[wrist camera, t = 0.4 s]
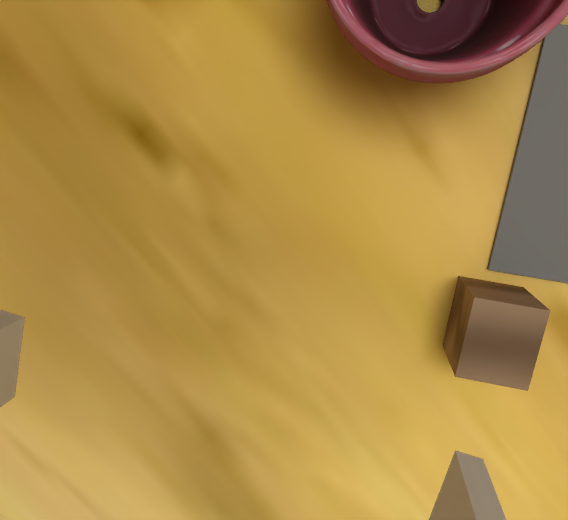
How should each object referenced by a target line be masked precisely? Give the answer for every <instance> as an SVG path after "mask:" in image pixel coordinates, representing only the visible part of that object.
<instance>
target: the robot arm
mask: <svg viewBox="0 0 568 520" xmlns="http://www.w3.org/2000/svg"><path fill="white" fill-rule="evenodd" d="M24 319H25V317H22V316H19V315H16V314H12V313H9V312H6V311H3V310H1V311H0V407H1V406H3V405H4V404H5V403H7V402H8V401H10V400H11V399H13V398H14V397H15V391H16V383H17V375H18V367H19V359H20V351H21V343H22V335H23V327H24ZM429 520H506V518H505V515H504V513H503V510H502V508H501V505H500V502H499V500H498V497H497V494H496V492H495V489H494V487H493V484H492V481H491V479H490V476H489V474H488V471H487V468H486V466H485V463H484V461H483V459H481V458H478V457H475V456H472V455H468V454H465V453H462V452H459V451H455V453H454V455H453V458H452V461H451V463H450V466H449V468H448V471H447V474H446V476H445V479H444V482H443V484H442V487H441V489H440V492H439V495H438V497H437V500H436V502H435V505H434V508H433V510H432V513H431V516H430V518H429Z"/></svg>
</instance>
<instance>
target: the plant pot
mask: <svg viewBox="0 0 568 520" xmlns="http://www.w3.org/2000/svg"><path fill="white" fill-rule="evenodd" d="M327 3H328V6H329V8H330V11H331V13H332V15H333V17H334V19H335V21H336V23H337V25H338V27H339V28H340V30H341V31H342V33H343V34H344V36H345V37H346V39H347V40H348V41H349V42H350V44H351V45H352V46H353V47H354V48H355V49H356V50H357V51H358V52H359V53H360V54H361V55H362V56H364V57H365V58H366V59H367V60H369V61H370V62H371V63H373V64H374V65H376V66H377V67H379V68H381V69H383V70H384V71H386V72H389V73H391V74H393V75H396V76H398V77H401V78H404V79H408V80H413V81H418V82H425V83H452V82H459V81H464V80H468V79H473V78H476V77H479V76H482V75H485V74H488V73H490V72H492V71H494V70H497V69H499V68H501V67H503V66H504V65H506V64H508V63H510V62H512V61H513V60H515V59H516V58H518V57H519V56H521V55H523V54H524V53H525V52H527V51H528V50H530V49H531V48H532V47H534V46H535V45H536V44H537V43H539V42H540V41H541V40H542V39H543V38H545V37H546V36H547V35H548V34H549V33H550V32H551V31H552V30H554V29H555V28H556V27H557V26H558V25H559V24H560V23H561V22H562V21H563V20H564V18H565V17H566V16H567V15H568V0H443V2H442V5H441V7H440V8H439V9H438V10H437V11H435V12H432V13H427V12H424V11H422V10H421V9H420V8H419V6H418V4H417V0H327Z"/></svg>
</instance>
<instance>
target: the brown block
mask: <svg viewBox="0 0 568 520" xmlns="http://www.w3.org/2000/svg"><path fill="white" fill-rule="evenodd" d="M549 313H550V310H549V309H548V308H547V307H546V306H544V305H543V304H542V303H541V302H540V301H539V300H537V299H536V298H535V297H534V296H533V295H532V294H531V293H529V292H528V291H527V290H526V289H525V288H524V287H519V286H513V285H507V284H501V283H495V282H490V281H484V280H478V279H472V278H466V277H460V276H459V277H458V281H457V286H456V290H455V294H454V299H453V303H452V307H451V312H450V316H449V320H448V325H447V329H446V334H445V338H444V342H443V347H444V350H445V352H446V355H447V357H448V360H449V362H450V365H451V367H452V370H453V372H454V375H455V377H459V378H465V379H470V380H475V381H480V382H485V383H490V384H495V385H501V386H506V387H511V388H516V389H521V390H526V391H528V388H529V385H530V381H531V378H532V374H533V370H534V367H535V363H536V360H537V356H538V353H539V349H540V345H541V342H542V338H543V335H544V331H545V328H546V324H547V320H548V317H549Z"/></svg>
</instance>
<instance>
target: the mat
mask: <svg viewBox="0 0 568 520" xmlns="http://www.w3.org/2000/svg"><path fill="white" fill-rule="evenodd" d="M487 269H488V270H492V271H498V272H504V273H510V274H516V275H522V276H528V277H534V278H540V279H546V280H552V281H558V282H564V283H568V25H561V24H559V25H558V26H557V27H556V28H555V29H554V30H552V31H551V32H550V33H549V34H548V35H547V36H546V37H545V38H543V42H542V47H541V51H540V55H539V59H538V63H537V67H536V71H535V75H534V79H533V84H532V88H531V92H530V96H529V100H528V104H527V108H526V112H525V116H524V120H523V125H522V129H521V133H520V137H519V141H518V145H517V149H516V153H515V157H514V162H513V166H512V170H511V174H510V178H509V182H508V186H507V190H506V194H505V198H504V203H503V207H502V211H501V215H500V219H499V223H498V227H497V231H496V235H495V240H494V244H493V248H492V252H491V256H490V260H489V264H488V268H487Z"/></svg>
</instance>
